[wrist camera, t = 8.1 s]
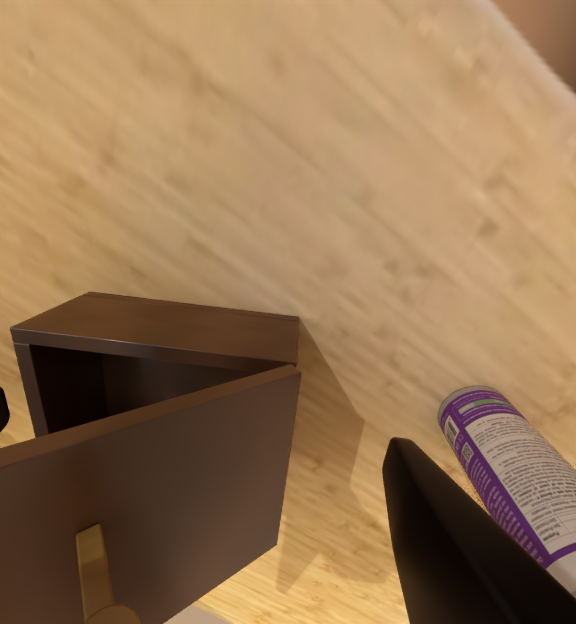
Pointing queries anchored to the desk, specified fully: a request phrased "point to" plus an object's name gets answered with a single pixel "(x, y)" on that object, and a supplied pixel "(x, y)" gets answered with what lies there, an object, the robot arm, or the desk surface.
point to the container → (516, 476)
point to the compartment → (139, 354)
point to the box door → (145, 504)
